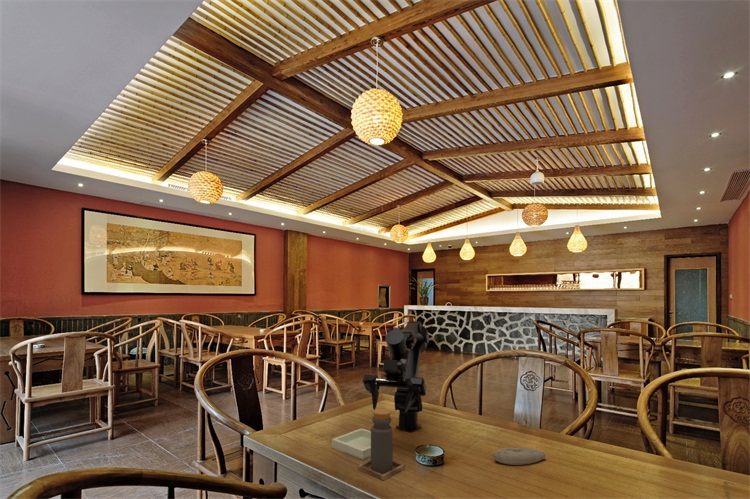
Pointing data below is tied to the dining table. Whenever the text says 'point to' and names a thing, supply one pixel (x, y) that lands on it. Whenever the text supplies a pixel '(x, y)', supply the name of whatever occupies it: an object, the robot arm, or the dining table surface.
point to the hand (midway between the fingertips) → (389, 410)
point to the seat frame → (378, 475)
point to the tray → (354, 444)
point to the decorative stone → (518, 456)
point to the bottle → (381, 442)
